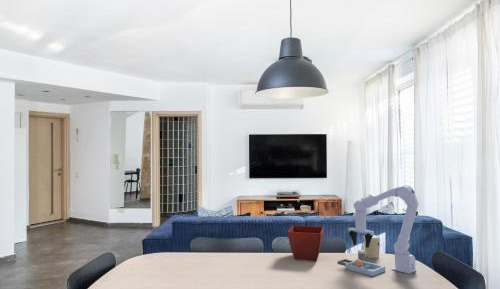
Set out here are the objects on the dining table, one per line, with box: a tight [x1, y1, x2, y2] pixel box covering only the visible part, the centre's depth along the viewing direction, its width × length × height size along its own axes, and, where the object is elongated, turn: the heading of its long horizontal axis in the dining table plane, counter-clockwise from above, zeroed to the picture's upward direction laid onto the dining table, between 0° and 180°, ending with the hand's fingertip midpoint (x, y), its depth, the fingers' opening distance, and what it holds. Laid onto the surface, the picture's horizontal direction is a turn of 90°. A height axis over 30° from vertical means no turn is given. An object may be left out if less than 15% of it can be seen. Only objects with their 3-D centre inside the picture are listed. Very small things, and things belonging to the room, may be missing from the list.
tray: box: [344, 260, 386, 277], centre depth 183 cm, size 16×12×2 cm
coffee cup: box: [363, 234, 381, 259], centre depth 208 cm, size 9×9×12 cm
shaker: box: [357, 249, 367, 262], centre depth 196 cm, size 4×4×6 cm
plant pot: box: [287, 225, 324, 262], centre depth 207 cm, size 19×19×17 cm
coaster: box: [337, 258, 354, 266], centre depth 195 cm, size 7×7×1 cm
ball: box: [353, 258, 363, 268], centre depth 186 cm, size 4×4×4 cm
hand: (361, 246), depth 195 cm, fingers open, 7 cm apart
